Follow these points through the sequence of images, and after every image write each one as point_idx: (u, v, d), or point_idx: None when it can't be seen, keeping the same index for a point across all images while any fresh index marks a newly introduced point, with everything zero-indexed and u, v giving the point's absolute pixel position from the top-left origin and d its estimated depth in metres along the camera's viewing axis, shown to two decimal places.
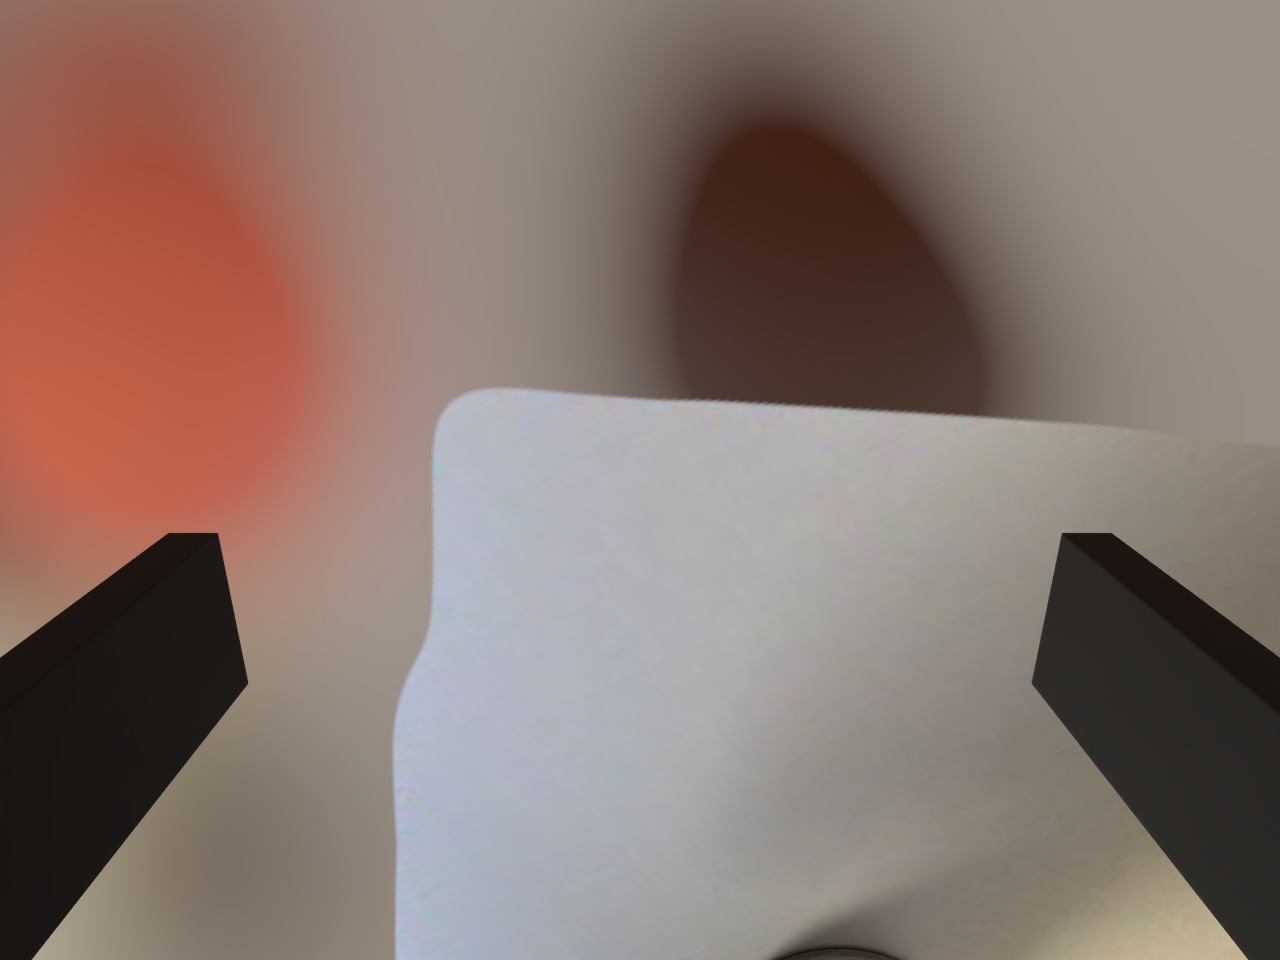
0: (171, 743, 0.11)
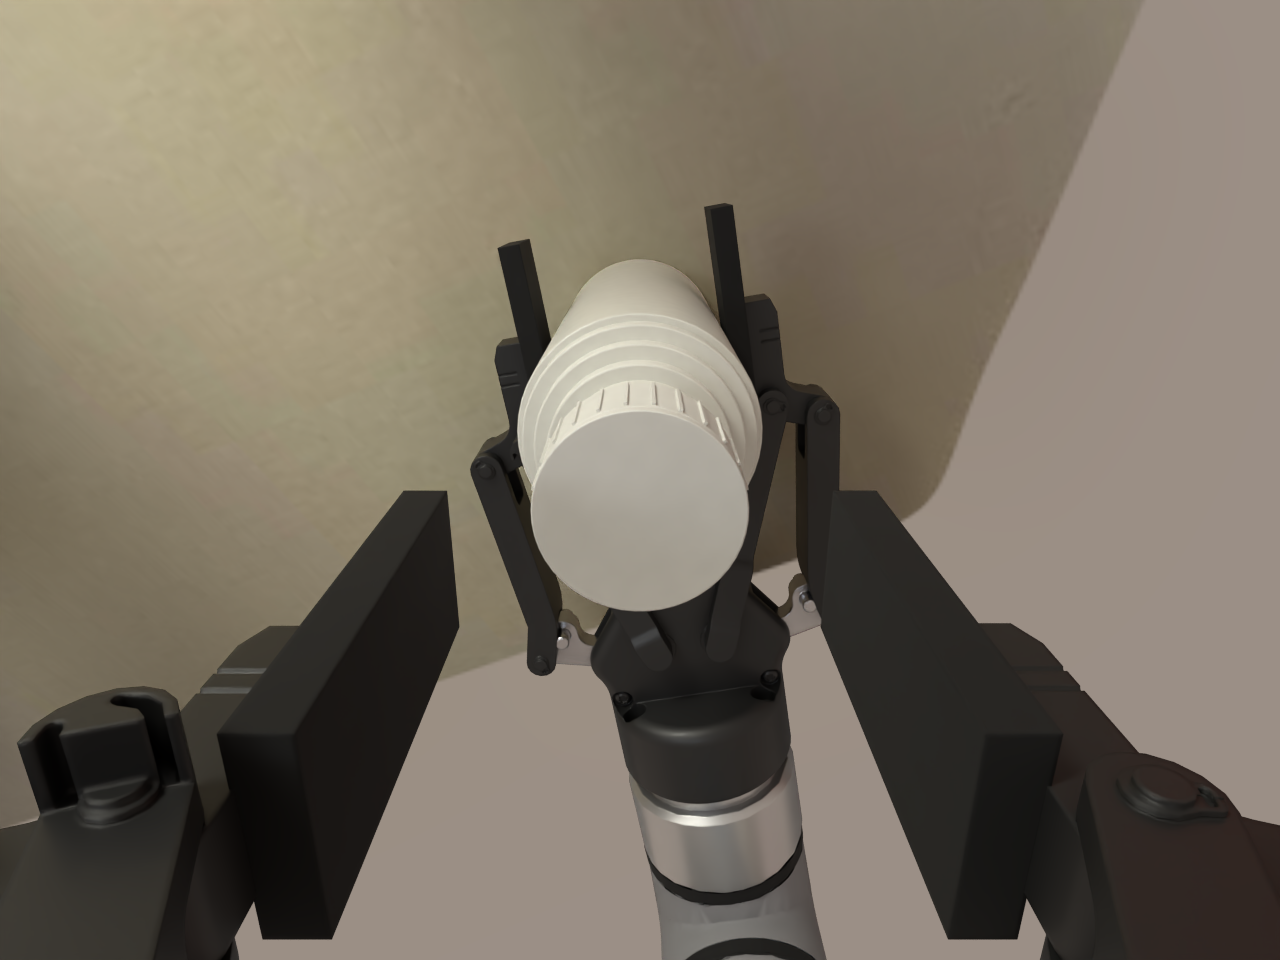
0: (428, 669, 0.13)
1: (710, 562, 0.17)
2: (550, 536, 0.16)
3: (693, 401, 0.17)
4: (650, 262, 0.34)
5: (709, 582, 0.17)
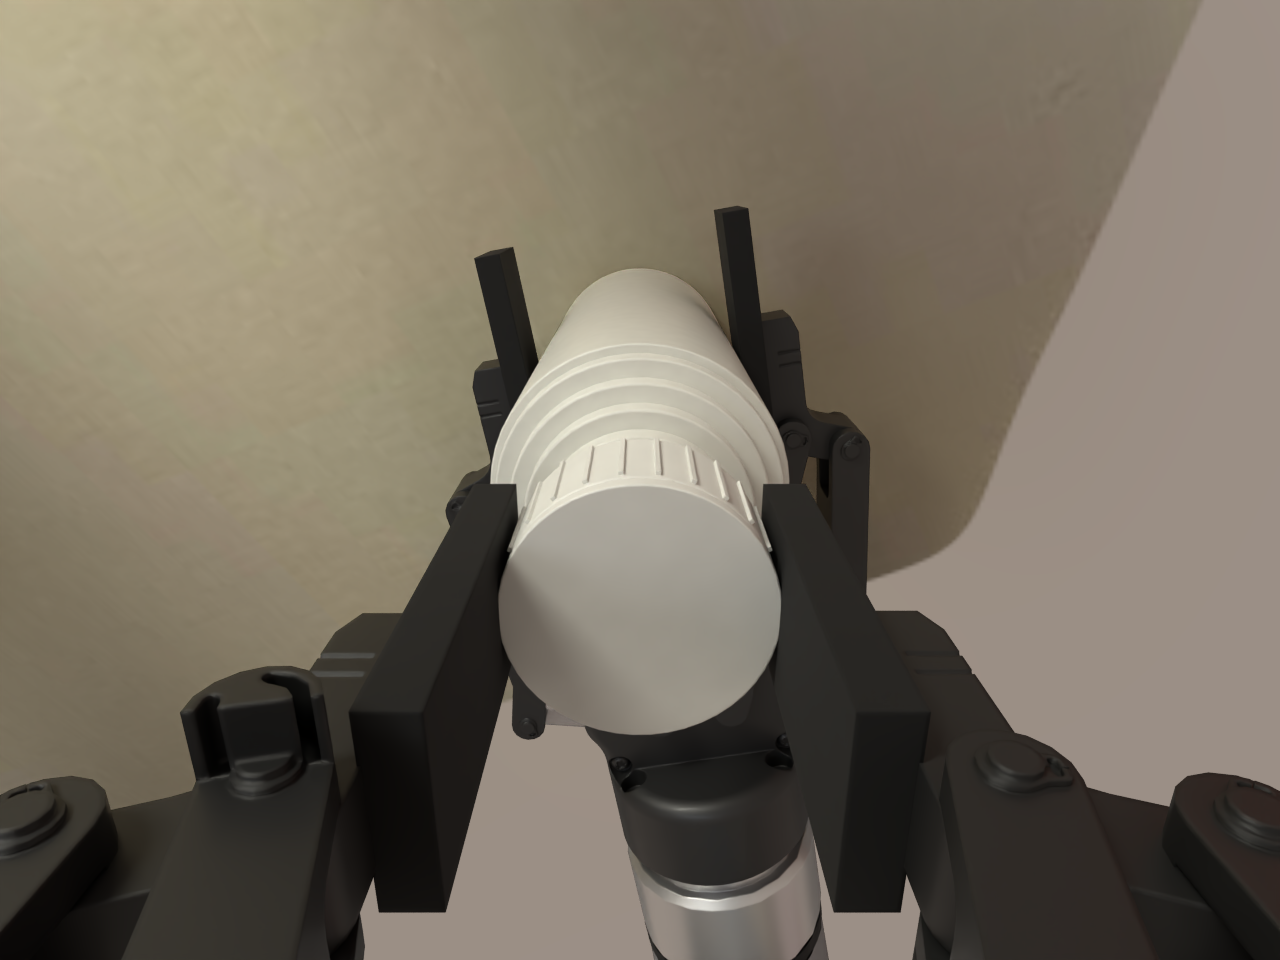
0: (505, 657, 0.13)
1: (731, 675, 0.13)
2: (523, 643, 0.13)
3: (708, 462, 0.13)
4: (651, 272, 0.30)
5: (730, 700, 0.13)
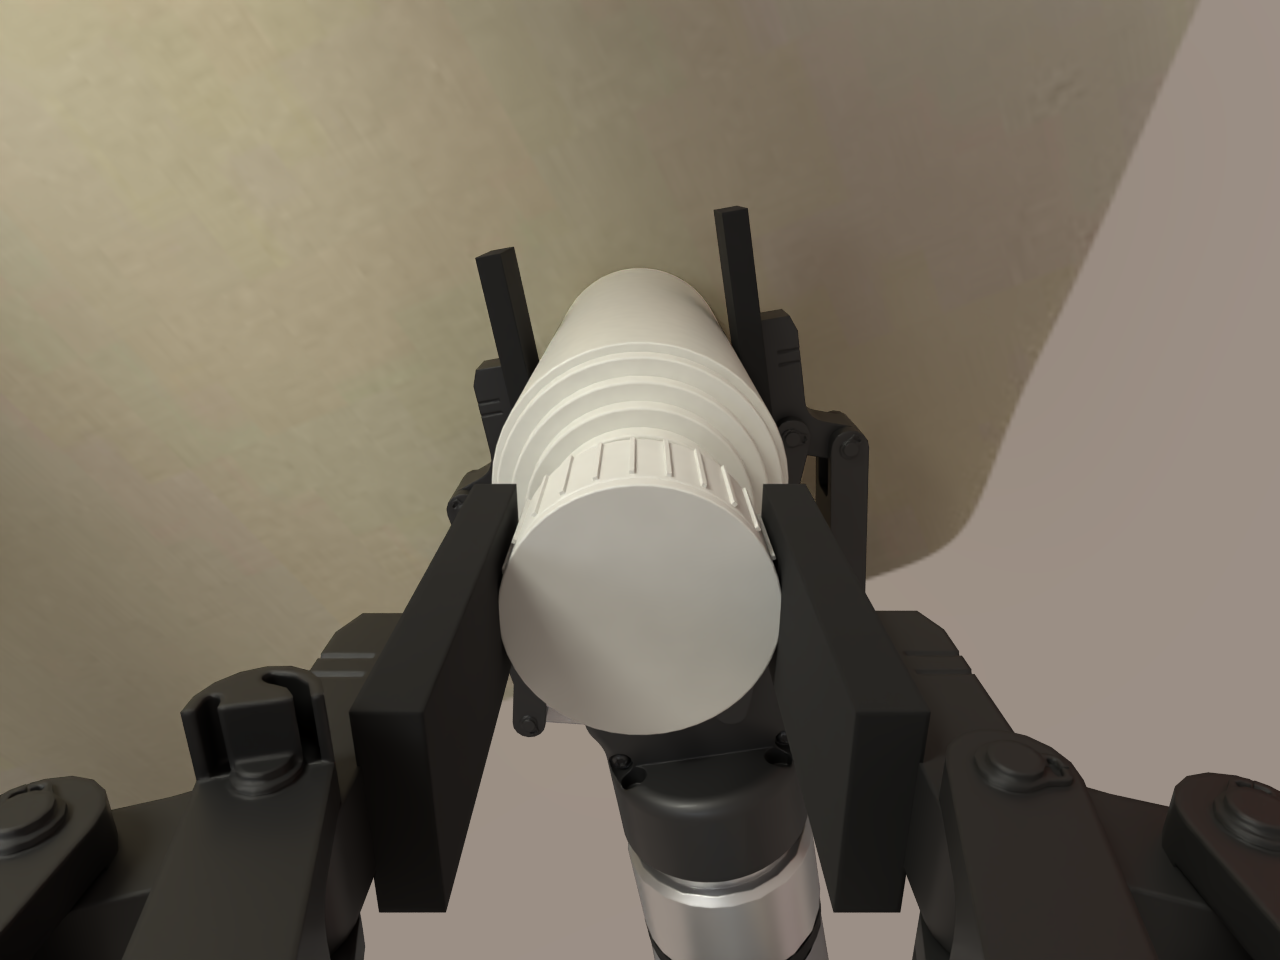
0: (505, 657, 0.13)
1: (640, 510, 0.12)
2: (729, 684, 0.13)
3: None
4: (651, 271, 0.30)
5: (665, 495, 0.12)
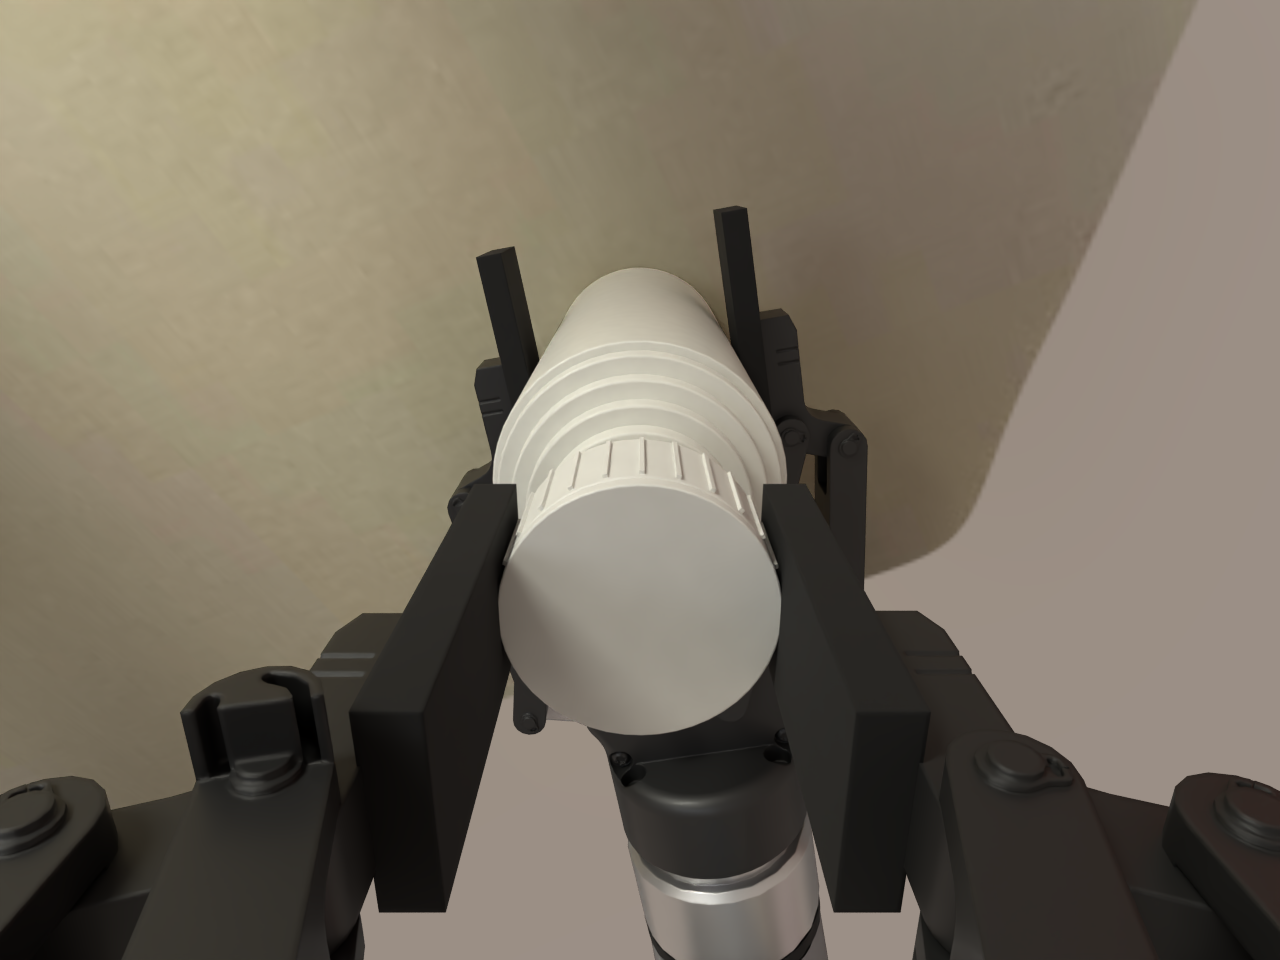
0: (505, 657, 0.13)
1: (548, 675, 0.13)
2: (650, 505, 0.12)
3: None
4: (651, 271, 0.30)
5: (520, 668, 0.13)
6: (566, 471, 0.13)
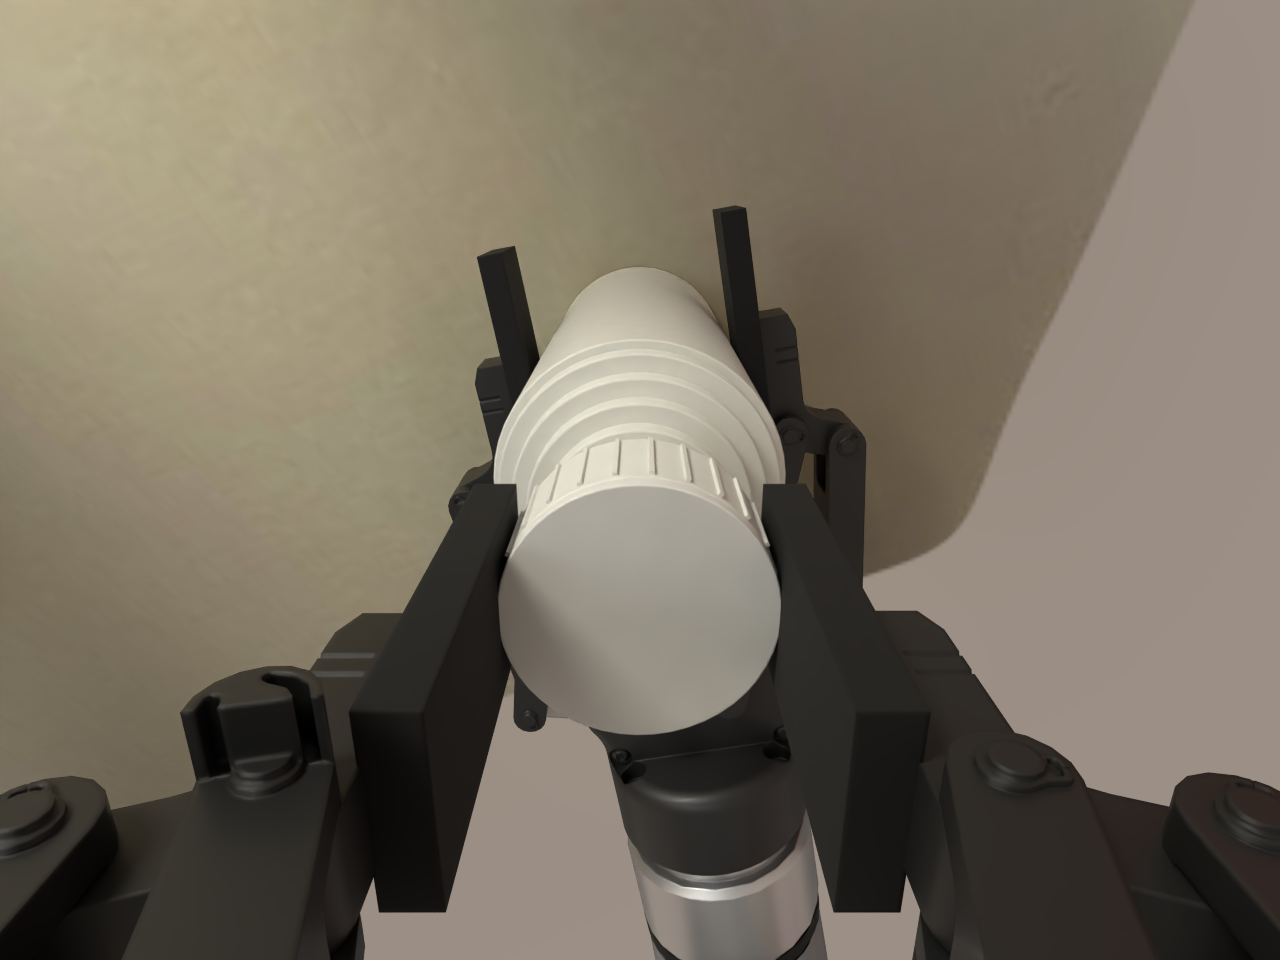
0: (505, 657, 0.13)
1: (747, 650, 0.13)
2: (537, 670, 0.13)
3: (673, 448, 0.13)
4: (651, 271, 0.30)
5: (754, 674, 0.13)
6: None
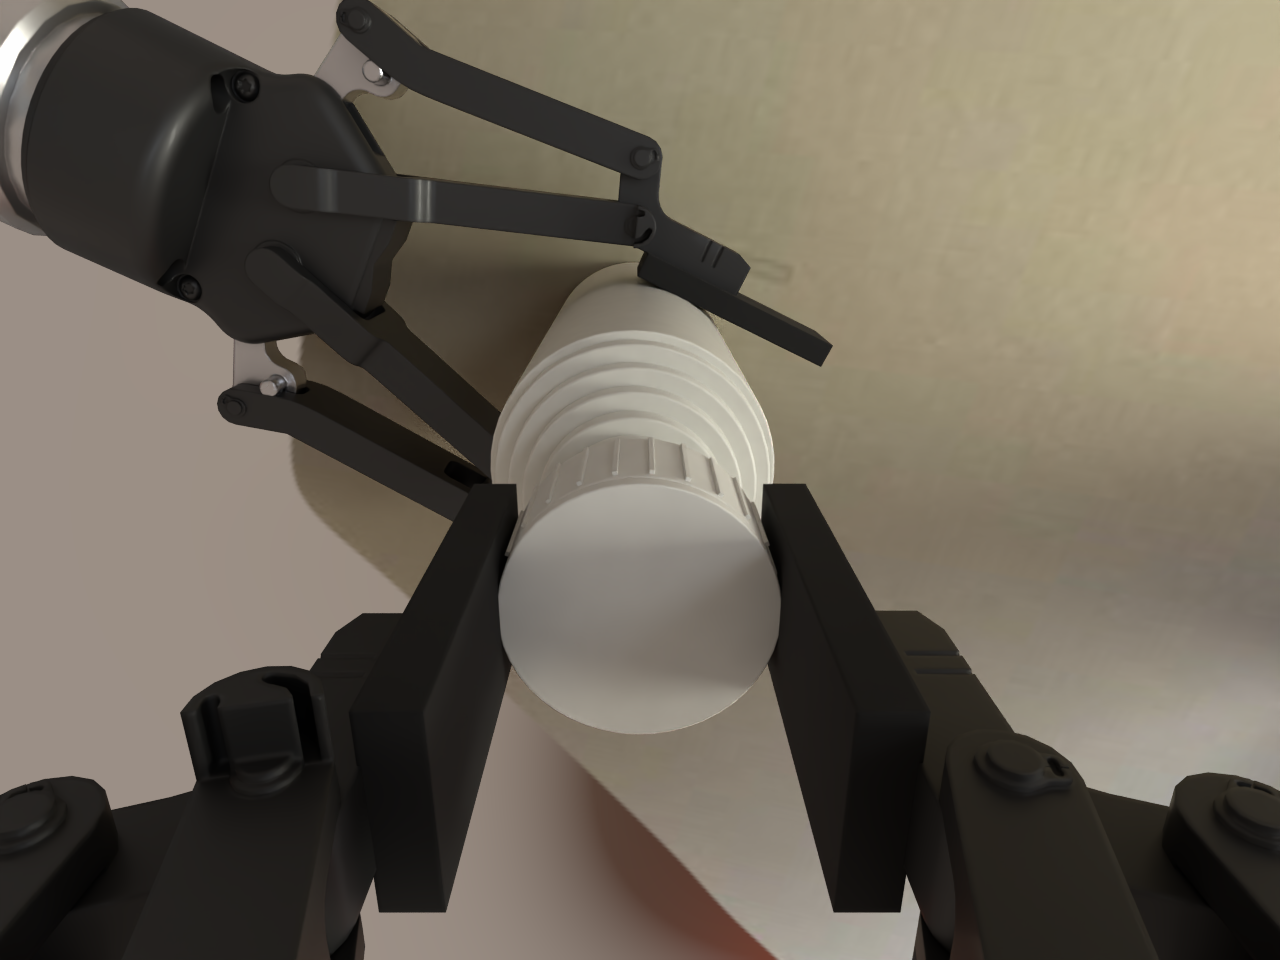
0: (505, 657, 0.13)
1: (747, 649, 0.13)
2: (537, 670, 0.13)
3: (673, 448, 0.13)
4: None
5: (753, 674, 0.13)
6: None
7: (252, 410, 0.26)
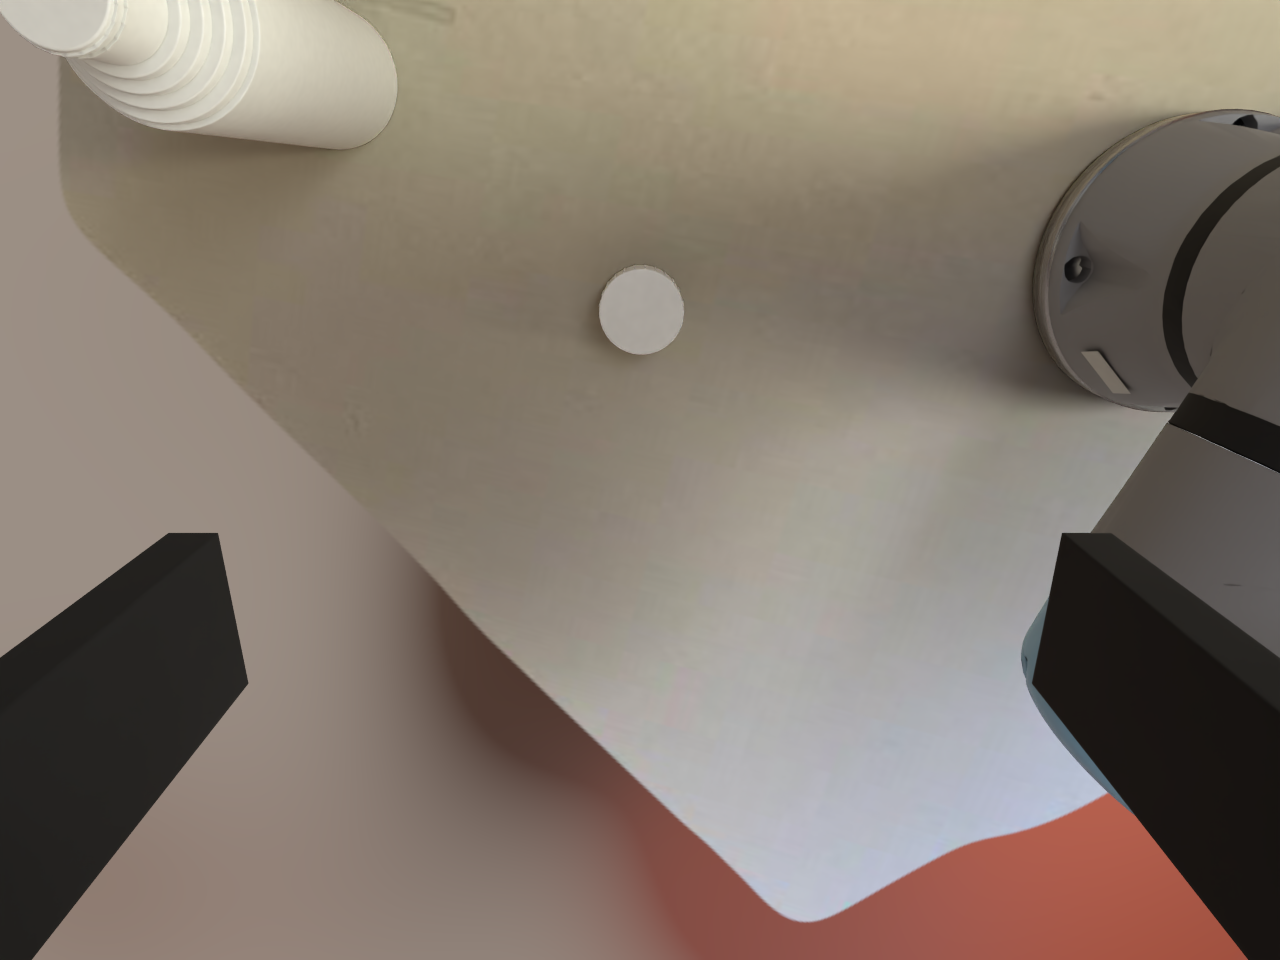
0: (171, 743, 0.11)
1: (674, 323, 0.42)
2: (610, 331, 0.42)
3: (652, 266, 0.43)
4: (377, 126, 0.40)
5: (676, 332, 0.42)
6: None
7: None
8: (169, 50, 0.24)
